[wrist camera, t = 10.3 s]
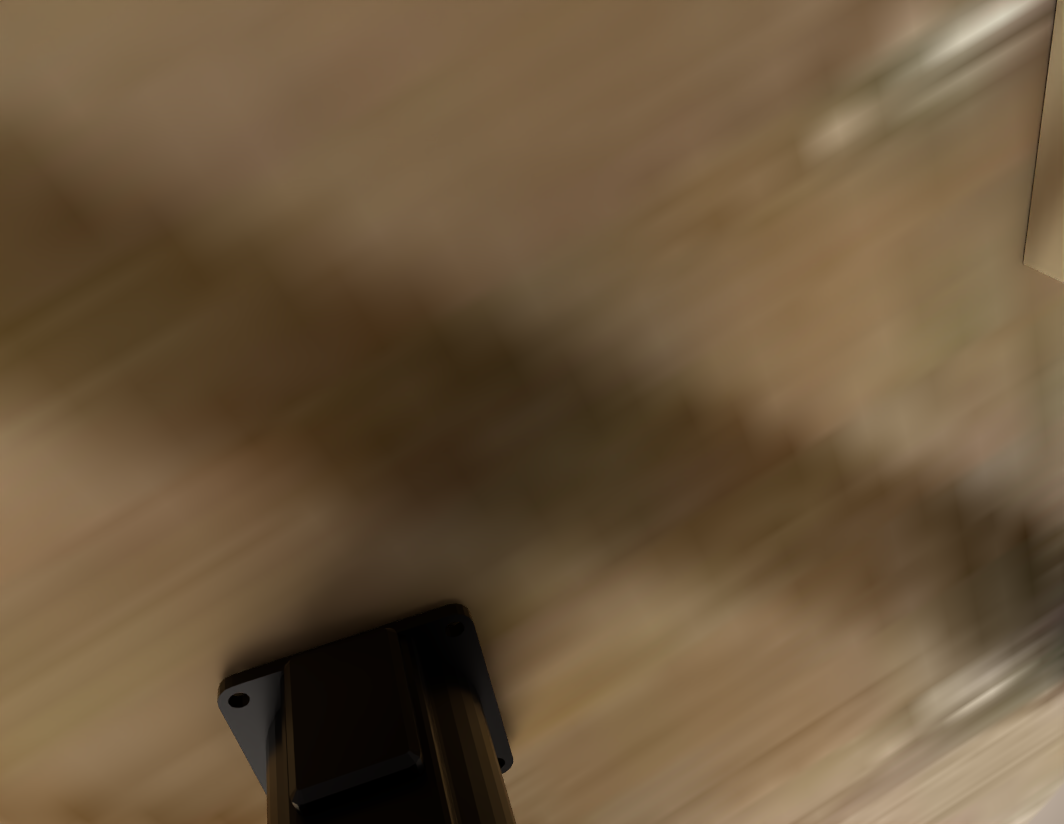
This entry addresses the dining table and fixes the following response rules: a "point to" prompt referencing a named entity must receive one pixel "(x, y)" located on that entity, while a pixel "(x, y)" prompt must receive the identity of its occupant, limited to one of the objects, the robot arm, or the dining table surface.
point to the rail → (1050, 170)
